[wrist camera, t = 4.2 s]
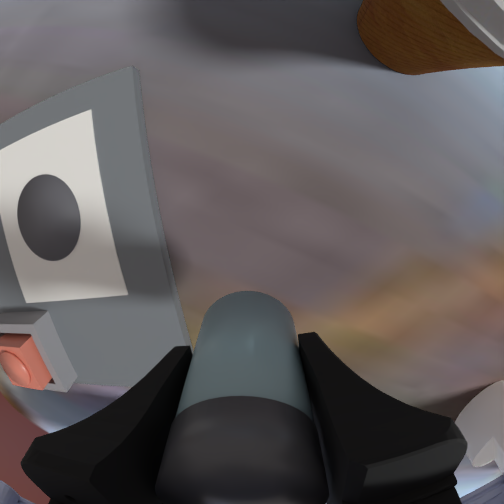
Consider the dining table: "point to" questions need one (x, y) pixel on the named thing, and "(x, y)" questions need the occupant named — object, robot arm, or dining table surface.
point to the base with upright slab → (484, 426)
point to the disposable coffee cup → (433, 34)
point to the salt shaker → (244, 413)
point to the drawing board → (86, 237)
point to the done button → (23, 361)
